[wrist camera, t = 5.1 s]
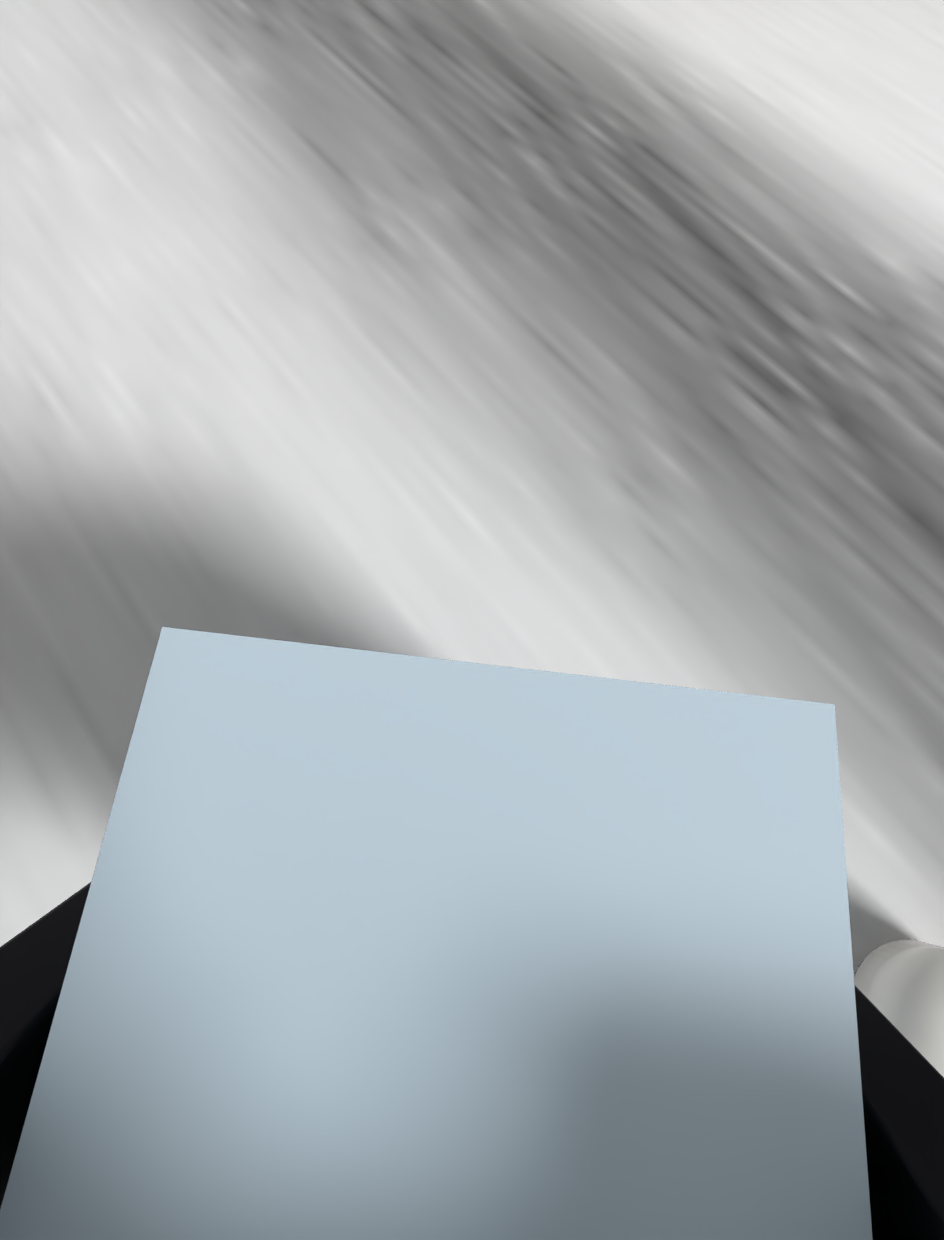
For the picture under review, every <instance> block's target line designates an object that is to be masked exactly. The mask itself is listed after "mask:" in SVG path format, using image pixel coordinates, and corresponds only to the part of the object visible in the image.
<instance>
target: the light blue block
mask: <svg viewBox="0 0 944 1240" xmlns="http://www.w3.org/2000/svg"><path fill="white" fill-rule="evenodd" d="M0 1240H873V1239H872V1225H871V1211H870V1197H869V1183H868V1169H867V1155H866V1140H865V1126H864V1112H863V1098H862V1084H861V1070H860V1056H859V1042H858V1028H857V1014H856V1000H855V986H854V972H853V958H852V944H851V930H850V916H849V902H848V888H847V874H846V860H845V846H844V832H843V818H842V804H841V790H840V776H839V762H838V748H837V734H836V720H835V706H834V704H826V703H817V702H808V701H800V700H791V699H783V698H774V697H765V696H757V695H748V694H739V693H731V692H722V691H713V690H705V689H696V688H687V687H679V686H670V685H661V684H653V683H644V682H635V681H627V680H618V679H609V678H601V677H592V676H584V675H575V674H566V673H558V672H549V671H540V670H532V669H523V668H514V667H506V666H497V665H488V664H480V663H471V662H462V661H454V660H445V659H436V658H428V657H419V656H410V655H402V654H393V653H385V652H376V651H367V650H359V649H350V648H341V647H333V646H324V645H315V644H307V643H298V642H289V641H281V640H272V639H263V638H255V637H246V636H237V635H229V634H220V633H211V632H203V631H194V630H186V629H177V628H168V627H162V629H161V633H160V636H159V640H158V644H157V647H156V651H155V654H154V658H153V662H152V665H151V669H150V672H149V676H148V680H147V683H146V687H145V690H144V694H143V698H142V701H141V705H140V708H139V712H138V716H137V719H136V723H135V726H134V730H133V734H132V737H131V741H130V744H129V748H128V752H127V755H126V759H125V763H124V766H123V770H122V773H121V777H120V781H119V784H118V788H117V791H116V795H115V799H114V802H113V806H112V809H111V813H110V817H109V820H108V824H107V827H106V831H105V835H104V838H103V842H102V845H101V849H100V853H99V856H98V860H97V863H96V867H95V871H94V874H93V878H92V881H91V885H90V889H89V892H88V896H87V899H86V903H85V907H84V910H83V914H82V917H81V921H80V925H79V928H78V932H77V935H76V939H75V943H74V946H73V950H72V953H71V957H70V961H69V964H68V968H67V971H66V975H65V979H64V982H63V986H62V989H61V993H60V997H59V1000H58V1004H57V1007H56V1011H55V1015H54V1018H53V1022H52V1025H51V1029H50V1033H49V1036H48V1040H47V1043H46V1047H45V1051H44V1054H43V1058H42V1061H41V1065H40V1069H39V1072H38V1076H37V1079H36V1083H35V1087H34V1090H33V1094H32V1098H31V1101H30V1105H29V1108H28V1112H27V1116H26V1119H25V1123H24V1126H23V1130H22V1134H21V1137H20V1141H19V1144H18V1148H17V1152H16V1155H15V1159H14V1162H13V1166H12V1170H11V1173H10V1177H9V1180H8V1184H7V1188H6V1191H5V1195H4V1198H3V1202H2V1206H1V1209H0Z"/></svg>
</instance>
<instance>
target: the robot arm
mask: <svg viewBox="0 0 944 1240" xmlns="http://www.w3.org/2000/svg"><path fill="white" fill-rule="evenodd" d="M90 885H91V882H90V883H89V884H88V885H86V886H85V887H83V888H82V889H81V890H79V891H78V892H76V893H75V894H74V895H72V896H71V897H69V898H68V899H67V900H65V901H64V902H63V903H61V904H60V905H58V906H57V907H56V908H54V909H53V910H51V911H50V912H49V913H47V914H46V915H44V916H43V917H42V918H40V919H39V920H37V921H36V922H35V923H33V924H32V925H30V926H29V927H28V928H26V929H25V930H24V931H22V932H21V933H19V934H18V935H17V936H15V937H14V938H12V939H11V940H10V941H8V942H7V943H5V944H4V945H3V946H1V947H0V1209H1V1206H2V1202H3V1198H4V1195H5V1191H6V1188H7V1184H8V1180H9V1177H10V1173H11V1170H12V1166H13V1162H14V1159H15V1155H16V1152H17V1148H18V1144H19V1141H20V1137H21V1134H22V1130H23V1126H24V1123H25V1119H26V1116H27V1112H28V1108H29V1105H30V1101H31V1098H32V1094H33V1090H34V1087H35V1083H36V1079H37V1076H38V1072H39V1069H40V1065H41V1061H42V1058H43V1054H44V1051H45V1047H46V1043H47V1040H48V1036H49V1033H50V1029H51V1025H52V1022H53V1018H54V1015H55V1011H56V1007H57V1004H58V1000H59V997H60V993H61V989H62V986H63V982H64V979H65V975H66V971H67V968H68V964H69V961H70V957H71V953H72V950H73V946H74V943H75V939H76V935H77V932H78V928H79V925H80V921H81V917H82V914H83V910H84V907H85V903H86V899H87V896H88V892H89V889H90ZM854 986H855V985H854ZM855 1000H856V1014H857V1028H858V1042H859V1056H860V1070H861V1084H862V1098H863V1112H864V1126H865V1140H866V1155H867V1169H868V1183H869V1197H870V1211H871V1225H872V1239H873V1240H944V1077H943V1076H942V1075H941V1074H940V1073H939V1072H938V1071H937V1070H936V1069H935V1068H934V1067H933V1066H932V1065H931V1064H930V1063H929V1062H928V1061H927V1059H926V1058H925V1057H924V1056H923V1055H922V1054H921V1053H920V1052H919V1051H918V1050H917V1049H916V1048H915V1047H914V1046H913V1045H912V1044H911V1043H910V1042H909V1041H908V1040H907V1039H906V1038H905V1037H904V1036H903V1035H902V1033H901V1032H900V1031H899V1030H898V1029H897V1028H896V1027H895V1026H894V1025H893V1024H892V1023H891V1022H890V1021H889V1020H888V1019H887V1018H886V1017H885V1016H884V1015H883V1014H882V1013H881V1012H880V1011H879V1010H878V1008H877V1007H876V1006H875V1005H874V1004H873V1003H872V1002H871V1001H870V1000H869V999H868V998H867V997H866V996H865V995H864V994H863V993H862V992H861V991H860V990H859V989H858V988H857V987H856V986H855Z"/></svg>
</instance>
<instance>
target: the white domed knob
mask: <svg viewBox="0 0 944 1240" xmlns="http://www.w3.org/2000/svg"><path fill="white" fill-rule="evenodd" d="M854 985H855V986H856V987H857V988H858V989H859V990H860V991H861V992H862V993H863V994H864V995H865V996H866V997H867V998H868V999H869V1000H870V1001H871V1002H872V1003H873V1004H874V1005H875V1006H876V1007H877V1008H878V1010H879V1011H880V1012H881V1013H882V1014H883V1015H884V1016H885V1017H886V1018H887V1019H888V1020H889V1021H890V1022H891V1023H892V1024H893V1025H894V1026H895V1027H896V1028H897V1029H898V1030H899V1031H900V1032H901V1033H902V1035H903V1036H904V1037H905V1038H906V1039H907V1040H908V1041H909V1042H910V1043H911V1044H912V1045H913V1046H914V1047H915V1048H916V1049H917V1050H918V1051H919V1052H920V1053H921V1054H922V1055H923V1056H924V1057H925V1058H926V1059H927V1061H928V1062H929V1063H930V1064H931V1065H932V1066H933V1067H934V1068H935V1069H936V1070H937V1071H938V1072H939V1073H940V1074H941V1075H942V1076H943V1077H944V947H941V946H937V945H933V944H929V943H925V942H921V941H917V940H896V941H891V942H888V943H886V944H883V945H881V946H879V947H878V948H876V949H874V950H873V951H872V952H871V953H870V954H869V955H868V956H867V957H866V958H865V959H864V960H863V962H862V963H861V965H860V966H859V968H858V970H857V972H856V974H855V977H854Z"/></svg>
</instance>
